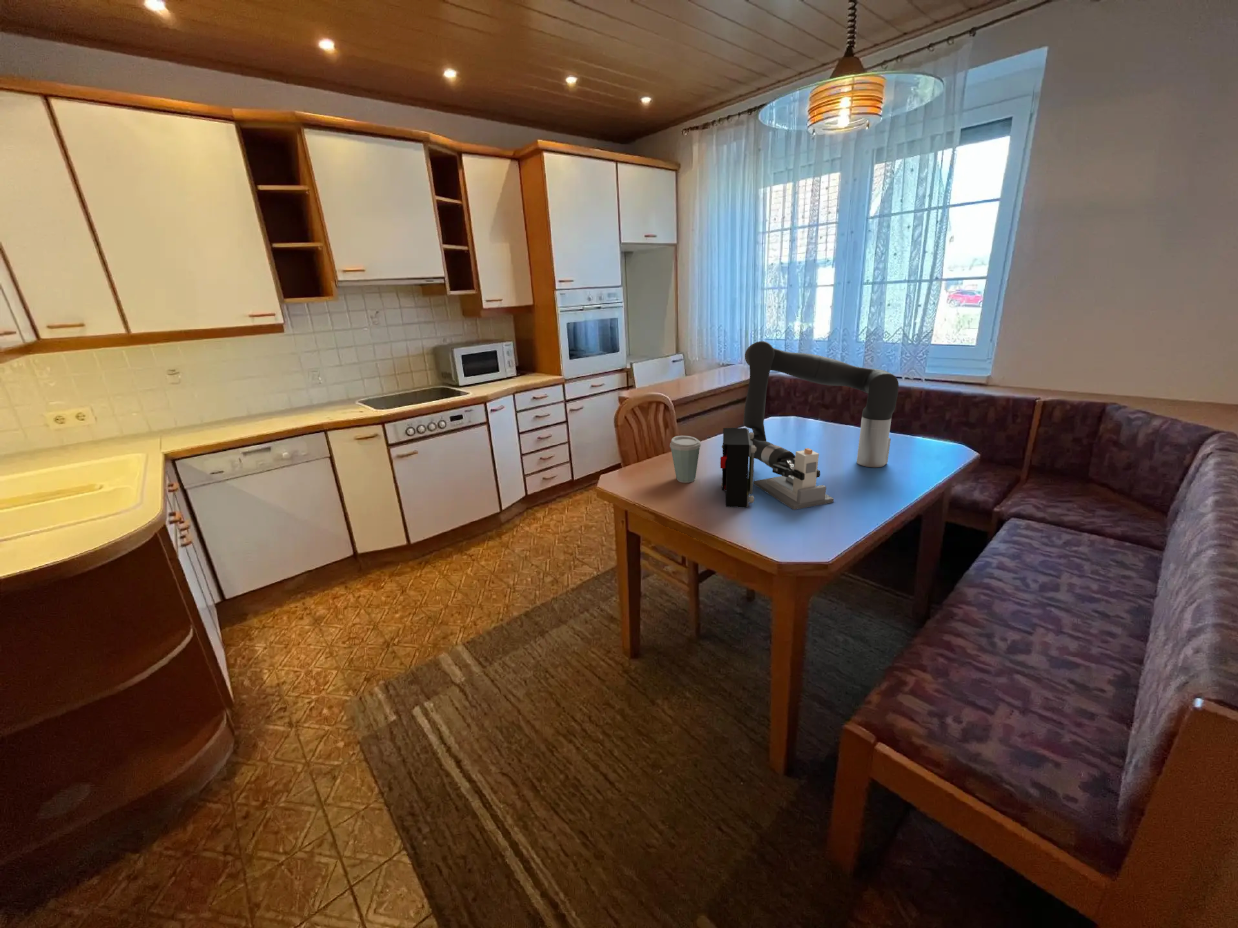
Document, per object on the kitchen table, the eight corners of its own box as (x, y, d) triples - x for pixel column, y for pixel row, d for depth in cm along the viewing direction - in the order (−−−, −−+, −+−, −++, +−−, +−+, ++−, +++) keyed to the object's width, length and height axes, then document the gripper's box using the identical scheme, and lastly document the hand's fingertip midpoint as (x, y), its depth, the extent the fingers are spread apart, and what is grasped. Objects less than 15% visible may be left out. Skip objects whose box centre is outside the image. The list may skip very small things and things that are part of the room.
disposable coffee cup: (704, 476, 174) (704, 435, 169) (695, 487, 165) (695, 444, 160) (676, 473, 179) (675, 433, 173) (666, 483, 169) (665, 442, 164)
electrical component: (754, 507, 148) (756, 444, 141) (719, 506, 150) (720, 444, 143) (751, 485, 164) (753, 428, 157) (720, 484, 166) (721, 428, 159)
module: (805, 491, 154) (809, 445, 148) (815, 497, 149) (819, 450, 144) (792, 494, 152) (795, 447, 147) (801, 499, 148) (805, 452, 143)
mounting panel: (789, 477, 169) (790, 463, 167) (833, 502, 149) (835, 486, 147) (753, 484, 165) (754, 469, 163) (793, 509, 145) (794, 493, 143)
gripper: (759, 450, 158) (791, 467, 143) (797, 444, 162) (832, 460, 146) (758, 472, 161) (789, 491, 145) (795, 465, 164) (830, 483, 149)
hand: (811, 475), depth 146 cm, fingers closed on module, 4 cm apart
